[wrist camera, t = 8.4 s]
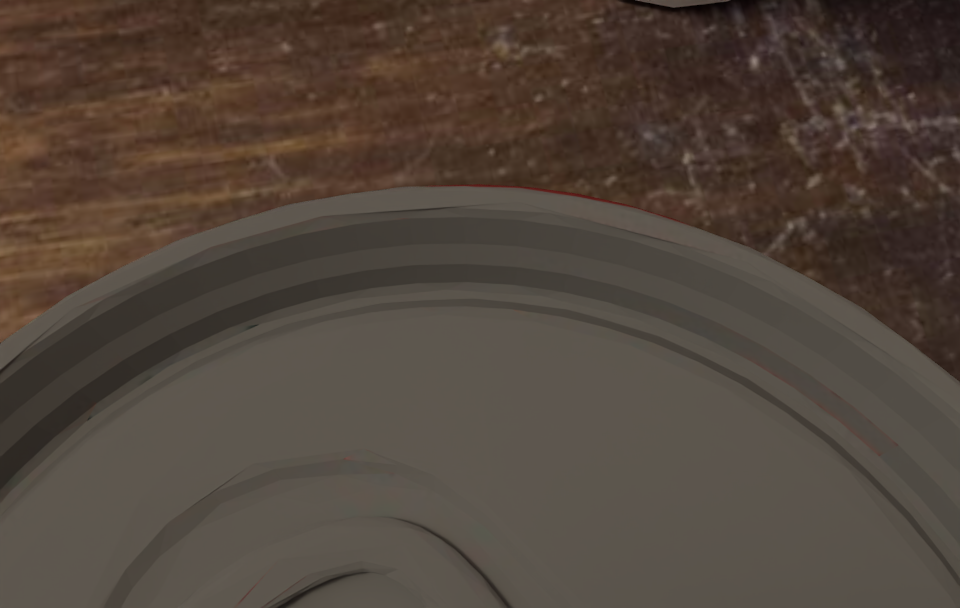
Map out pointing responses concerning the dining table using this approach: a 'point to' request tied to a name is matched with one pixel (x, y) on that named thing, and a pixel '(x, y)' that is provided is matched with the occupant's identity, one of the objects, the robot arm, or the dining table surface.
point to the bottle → (681, 2)
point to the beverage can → (471, 421)
